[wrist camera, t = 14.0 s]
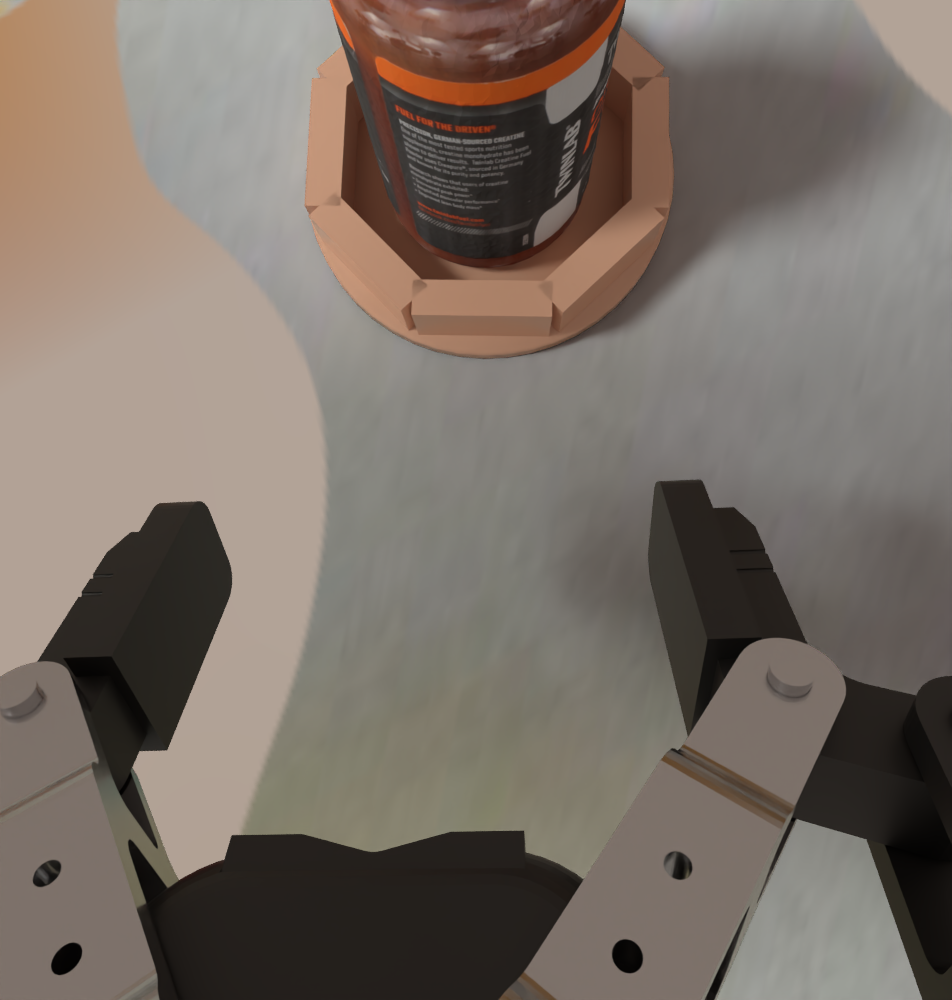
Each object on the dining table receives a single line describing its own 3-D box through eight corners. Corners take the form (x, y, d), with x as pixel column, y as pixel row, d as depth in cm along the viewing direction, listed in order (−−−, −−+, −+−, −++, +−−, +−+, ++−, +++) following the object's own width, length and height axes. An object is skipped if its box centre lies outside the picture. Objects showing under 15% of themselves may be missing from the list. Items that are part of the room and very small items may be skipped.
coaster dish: (302, 355, 22) (279, 330, 20) (321, 21, 23) (301, -38, 21) (669, 361, 21) (687, 336, 19) (669, 18, 22) (686, -43, 20)
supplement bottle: (613, 242, 21) (739, -143, 10) (420, 302, 21) (325, -14, 10) (551, 62, 22) (603, -491, 10) (364, 121, 22) (215, -367, 10)
